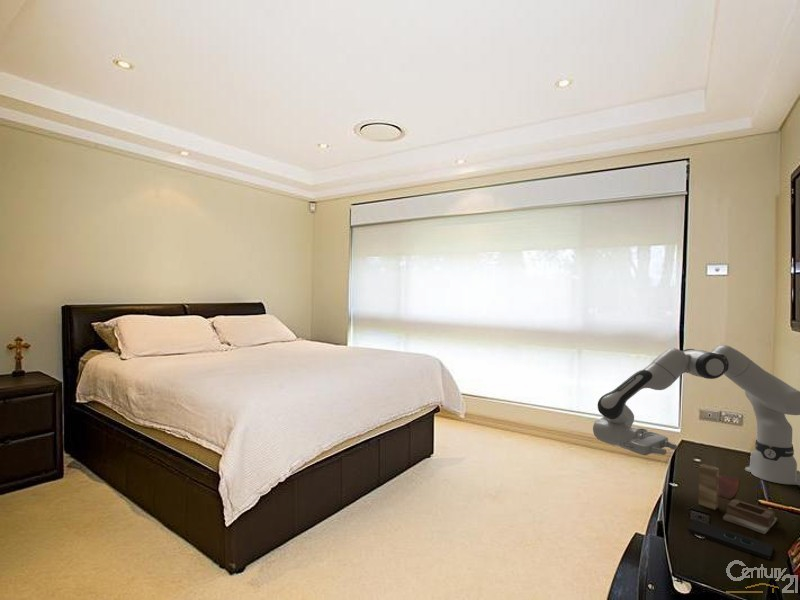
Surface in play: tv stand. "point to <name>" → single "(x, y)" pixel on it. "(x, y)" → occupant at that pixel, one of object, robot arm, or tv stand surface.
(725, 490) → the reddish wooden board
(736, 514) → the wooden plank holder
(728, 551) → the tv stand surface
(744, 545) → the smart home device
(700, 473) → the oak plank
